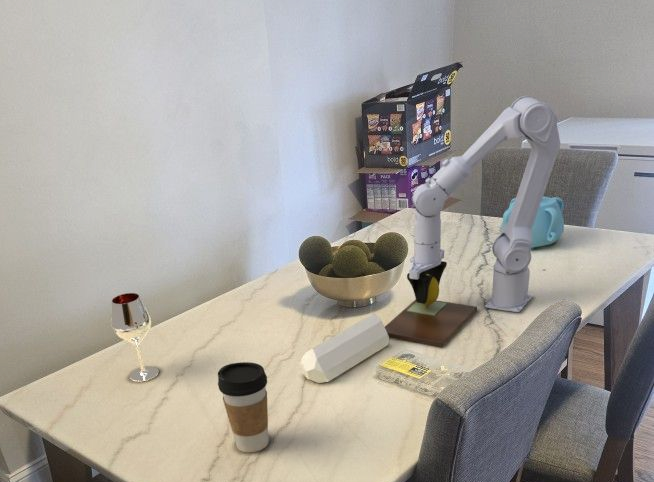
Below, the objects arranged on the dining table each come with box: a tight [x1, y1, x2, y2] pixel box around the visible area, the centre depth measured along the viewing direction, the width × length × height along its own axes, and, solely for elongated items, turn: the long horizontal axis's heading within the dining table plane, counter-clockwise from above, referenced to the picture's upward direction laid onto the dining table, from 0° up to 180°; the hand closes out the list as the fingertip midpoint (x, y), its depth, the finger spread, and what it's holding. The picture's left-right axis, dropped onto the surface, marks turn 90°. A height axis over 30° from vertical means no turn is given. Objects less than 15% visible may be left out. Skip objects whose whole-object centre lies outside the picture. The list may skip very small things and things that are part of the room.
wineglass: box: [110, 292, 160, 383], centre depth 146 cm, size 8×8×18 cm
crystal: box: [299, 313, 390, 384], centre depth 145 cm, size 7×7×24 cm
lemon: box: [421, 274, 440, 307], centre depth 159 cm, size 6×6×8 cm
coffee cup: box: [217, 361, 270, 453], centre depth 120 cm, size 8×8×15 cm
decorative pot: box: [500, 195, 565, 251], centre depth 189 cm, size 16×16×14 cm
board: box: [384, 299, 478, 348], centre depth 157 cm, size 20×15×1 cm
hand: (427, 297), depth 160 cm, fingers closed on lemon, 5 cm apart
